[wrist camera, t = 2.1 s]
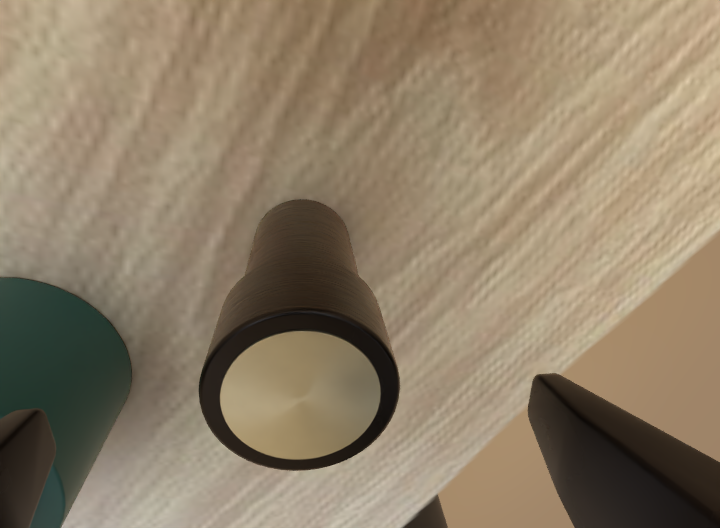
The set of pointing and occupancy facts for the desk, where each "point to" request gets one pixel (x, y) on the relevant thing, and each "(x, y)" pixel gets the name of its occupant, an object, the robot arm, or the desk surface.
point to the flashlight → (299, 349)
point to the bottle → (61, 381)
